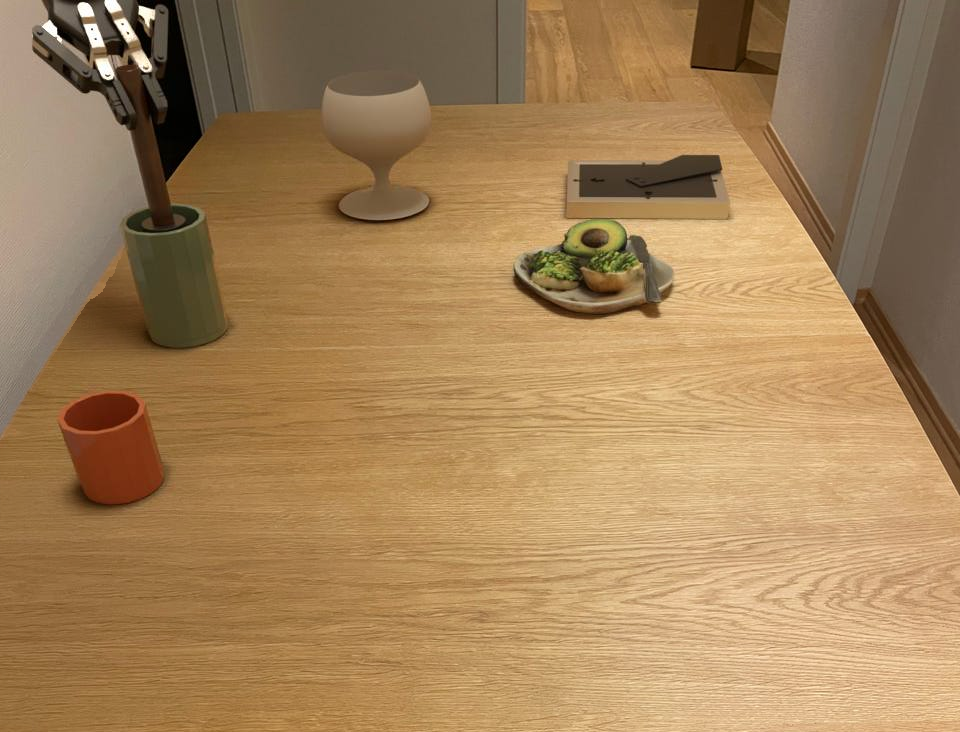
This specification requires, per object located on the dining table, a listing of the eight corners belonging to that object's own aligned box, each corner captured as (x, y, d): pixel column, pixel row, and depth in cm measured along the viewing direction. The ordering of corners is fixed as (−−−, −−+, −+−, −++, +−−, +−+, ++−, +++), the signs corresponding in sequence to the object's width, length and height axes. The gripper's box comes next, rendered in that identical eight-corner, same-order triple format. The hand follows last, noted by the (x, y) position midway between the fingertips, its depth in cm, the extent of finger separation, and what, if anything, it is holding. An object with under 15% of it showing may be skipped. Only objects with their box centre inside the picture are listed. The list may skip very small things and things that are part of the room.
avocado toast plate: (717, 301, 112) (723, 260, 109) (578, 337, 107) (580, 295, 103) (624, 241, 125) (627, 203, 122) (496, 271, 119) (495, 232, 116)
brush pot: (76, 508, 86) (50, 437, 81) (90, 462, 91) (66, 393, 86) (159, 501, 87) (138, 430, 82) (168, 455, 92) (149, 386, 87)
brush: (153, 289, 105) (99, 75, 91) (158, 272, 108) (106, 62, 94) (196, 286, 105) (148, 72, 91) (199, 269, 108) (154, 60, 94)
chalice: (367, 234, 129) (354, 106, 118) (313, 203, 137) (297, 81, 127) (456, 208, 134) (451, 84, 124) (399, 180, 143) (390, 61, 133)
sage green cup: (145, 351, 107) (114, 237, 99) (154, 315, 113) (126, 206, 105) (225, 344, 107) (201, 231, 99) (230, 310, 114) (207, 201, 105)
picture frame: (716, 176, 141) (567, 175, 142) (719, 154, 139) (568, 154, 140) (727, 218, 129) (566, 218, 131) (730, 196, 128) (566, 195, 129)
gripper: (128, -33, 99) (208, 130, 101) (-13, -12, 94) (73, 161, 95) (135, -93, 93) (221, 82, 94) (-17, -75, 87) (77, 112, 88)
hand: (146, 121), depth 94 cm, fingers closed on brush, 2 cm apart
